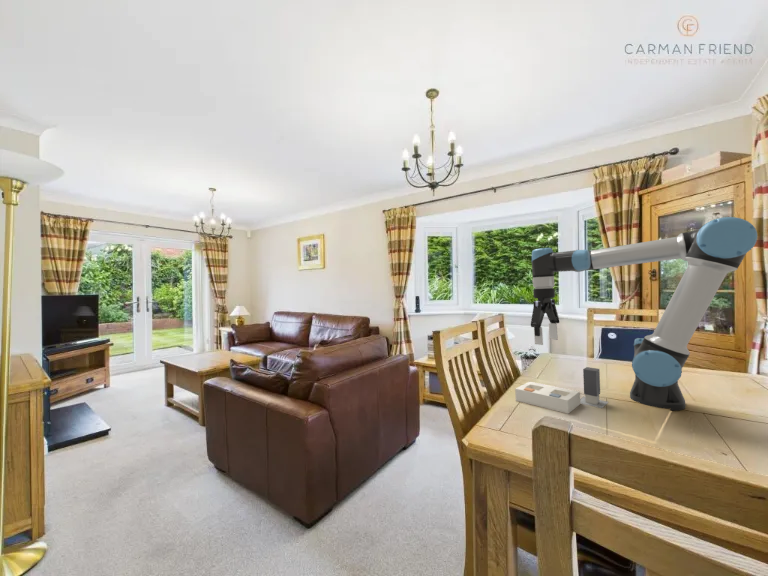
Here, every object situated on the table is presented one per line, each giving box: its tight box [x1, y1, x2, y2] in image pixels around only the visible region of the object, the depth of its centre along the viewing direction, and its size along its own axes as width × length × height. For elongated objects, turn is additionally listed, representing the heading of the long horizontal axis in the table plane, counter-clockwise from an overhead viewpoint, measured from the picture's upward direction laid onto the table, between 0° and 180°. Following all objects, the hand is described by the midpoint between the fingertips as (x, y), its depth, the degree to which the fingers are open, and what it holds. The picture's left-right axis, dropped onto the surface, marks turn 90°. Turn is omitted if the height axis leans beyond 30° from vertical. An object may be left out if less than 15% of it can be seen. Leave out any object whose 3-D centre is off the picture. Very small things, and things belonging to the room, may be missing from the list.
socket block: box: [514, 381, 581, 415], centre depth 116 cm, size 18×12×5 cm, turn 41°
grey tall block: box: [582, 366, 601, 405], centre depth 115 cm, size 4×4×12 cm
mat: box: [580, 396, 609, 409], centre depth 115 cm, size 8×8×1 cm
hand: (546, 341), depth 125 cm, fingers open, 13 cm apart
